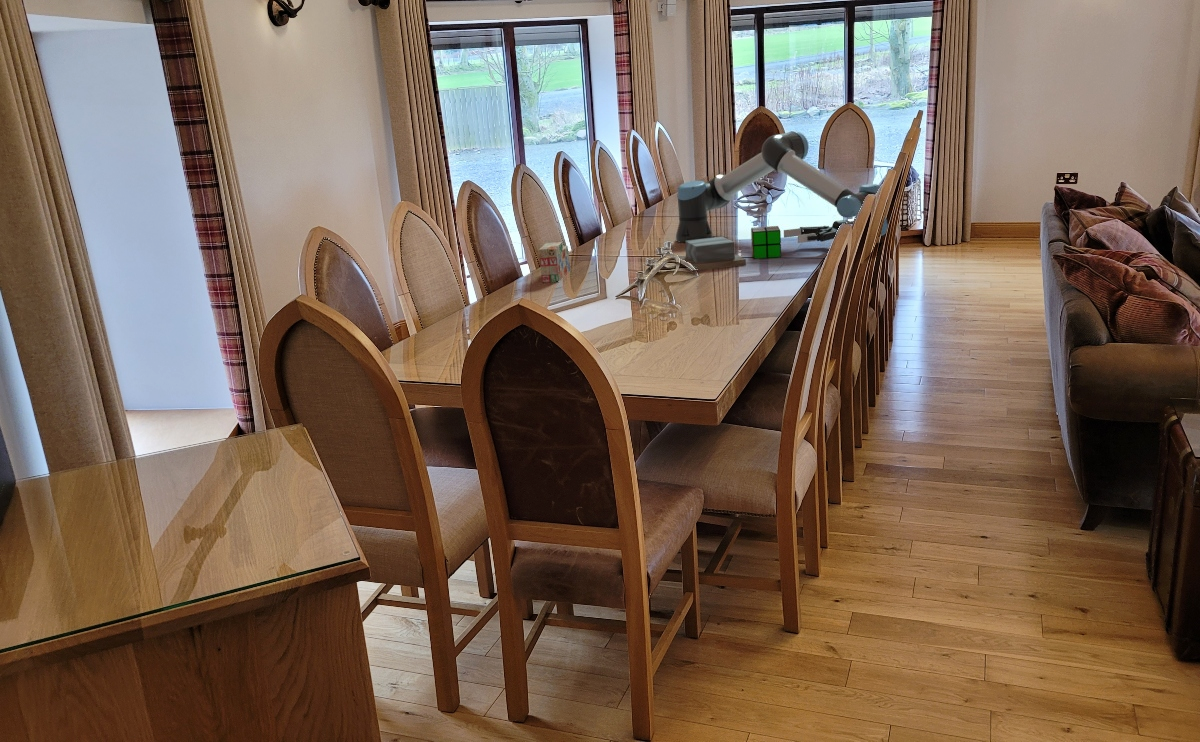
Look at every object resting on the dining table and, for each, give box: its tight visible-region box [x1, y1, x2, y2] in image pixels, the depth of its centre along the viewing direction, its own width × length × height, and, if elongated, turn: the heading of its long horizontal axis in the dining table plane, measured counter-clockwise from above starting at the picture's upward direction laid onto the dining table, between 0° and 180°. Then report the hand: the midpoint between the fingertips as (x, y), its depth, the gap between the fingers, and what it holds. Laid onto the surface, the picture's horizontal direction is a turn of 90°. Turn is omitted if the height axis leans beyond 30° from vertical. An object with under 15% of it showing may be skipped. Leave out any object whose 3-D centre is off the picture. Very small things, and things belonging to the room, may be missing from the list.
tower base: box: [678, 236, 747, 271], centre depth 336 cm, size 20×20×8 cm
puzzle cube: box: [750, 225, 782, 260], centre depth 341 cm, size 10×10×10 cm
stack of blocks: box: [538, 241, 571, 283], centre depth 336 cm, size 21×6×12 cm, turn 171°
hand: (790, 236), depth 342 cm, fingers open, 13 cm apart
